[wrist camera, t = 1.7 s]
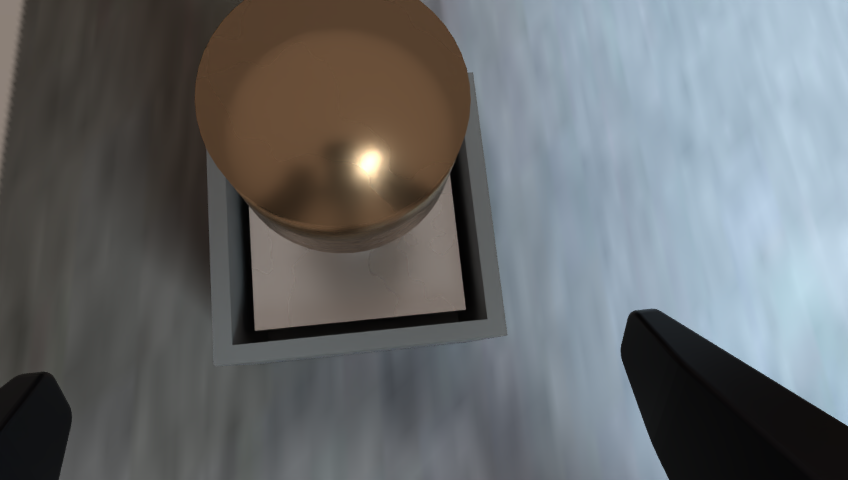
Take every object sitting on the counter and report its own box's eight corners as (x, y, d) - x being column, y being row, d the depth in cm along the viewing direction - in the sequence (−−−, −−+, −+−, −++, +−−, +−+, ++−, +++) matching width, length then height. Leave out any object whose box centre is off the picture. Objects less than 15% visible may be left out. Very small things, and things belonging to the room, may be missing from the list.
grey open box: (471, 341, 22) (507, 335, 16) (258, 364, 21) (213, 366, 15) (445, 116, 24) (468, 36, 18) (246, 128, 23) (202, 50, 17)
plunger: (463, 311, 18) (549, 264, 9) (258, 331, 17) (137, 303, 8) (440, 123, 19) (499, -81, 10) (249, 136, 18) (133, -70, 10)
